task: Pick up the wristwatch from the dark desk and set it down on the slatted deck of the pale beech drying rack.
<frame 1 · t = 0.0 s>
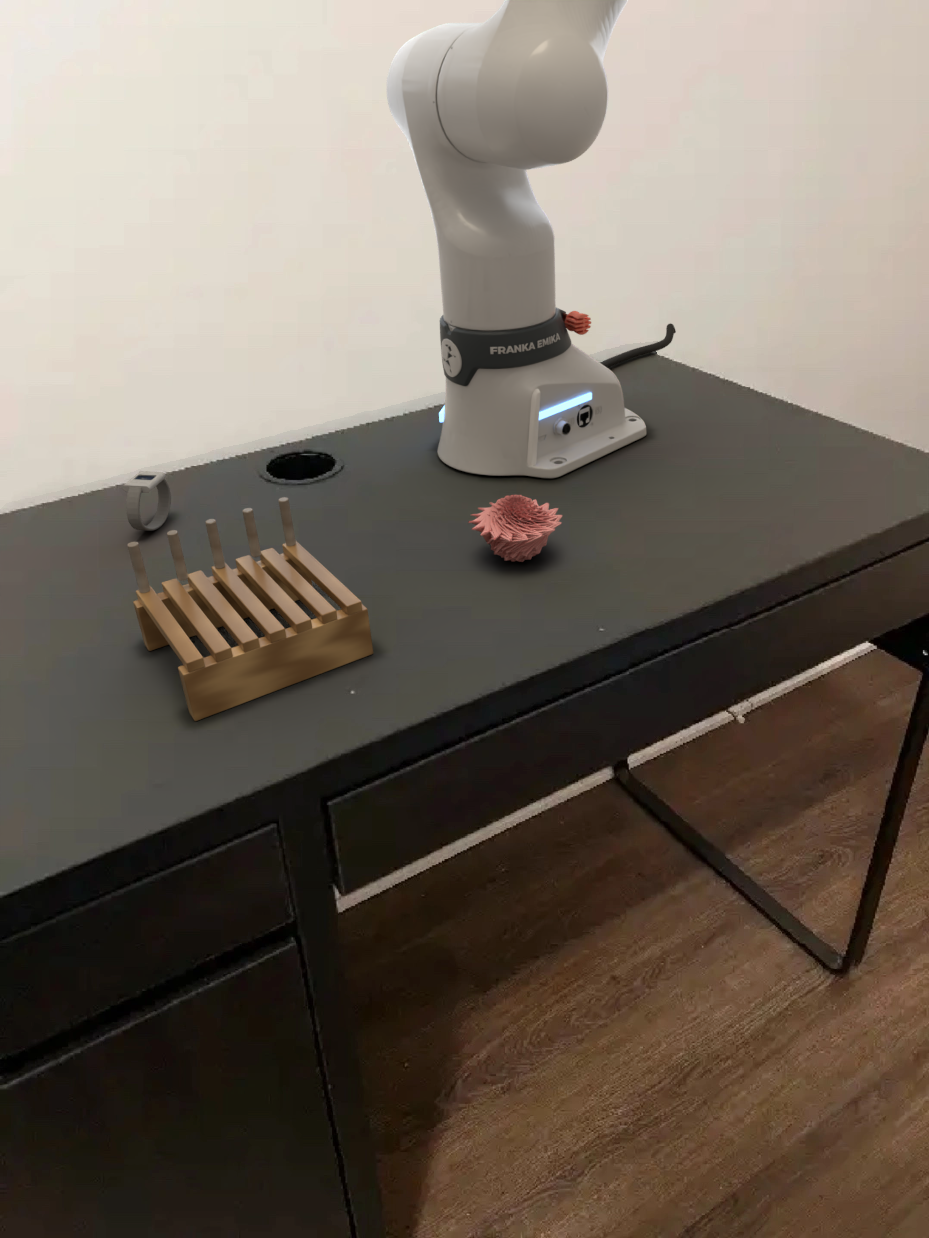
flower: (517, 557, 89), on the table
wristwatch: (155, 528, 98), on the table
rack: (256, 649, 79), on the table
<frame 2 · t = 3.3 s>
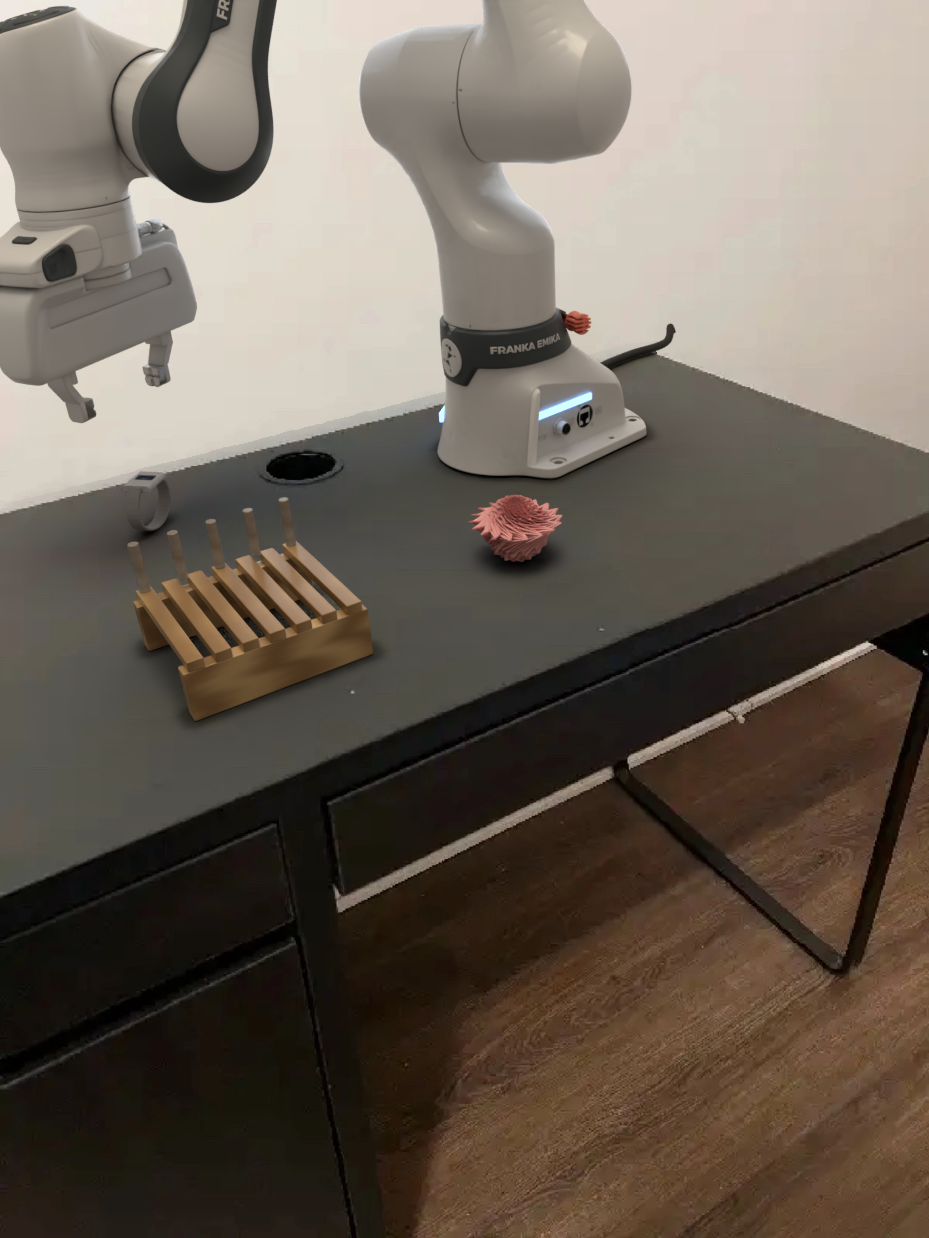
hand: (122, 401, 91), 12 cm above the table, tool pointing down, fingers open, 8 cm apart
nothing on the table moved.
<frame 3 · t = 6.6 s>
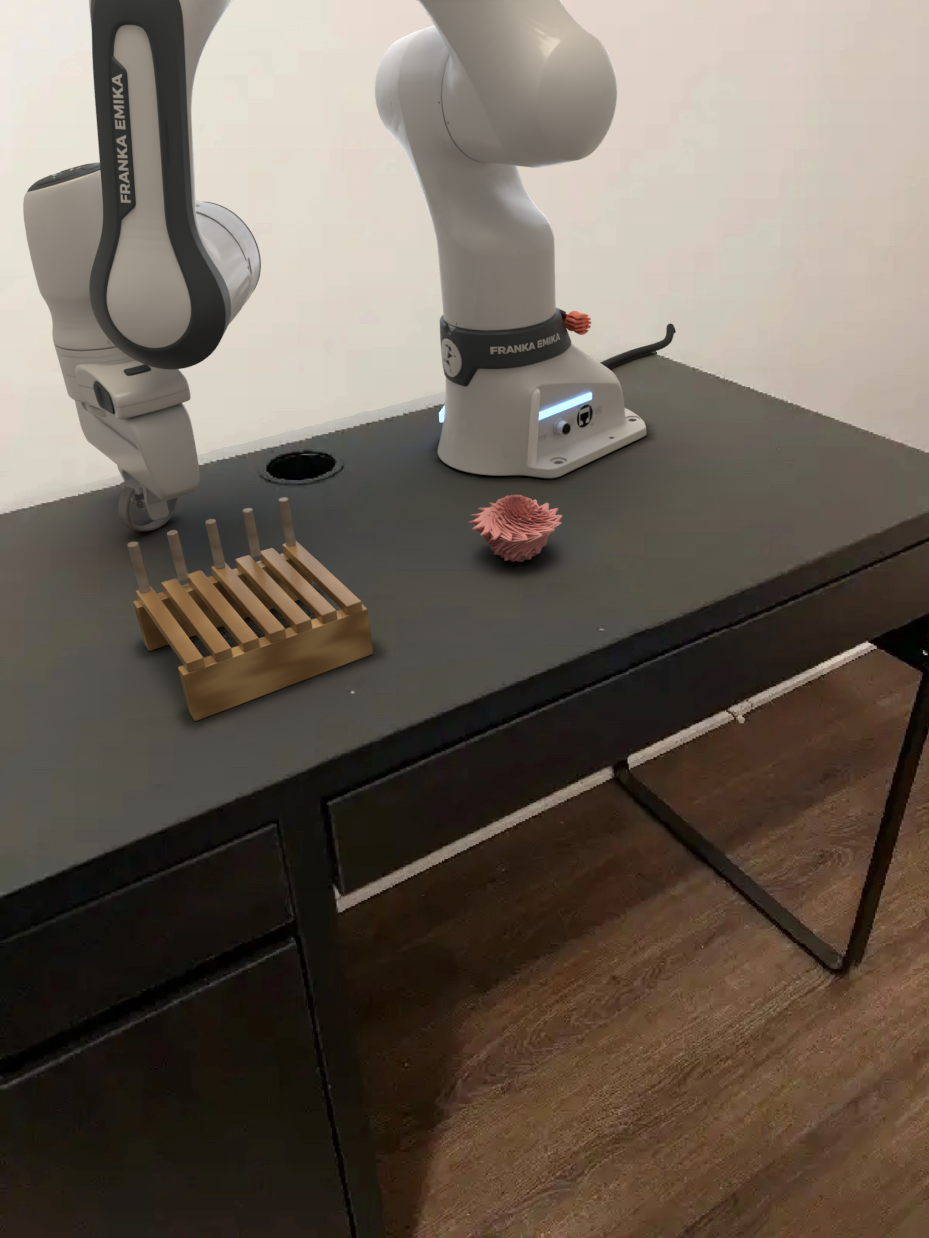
hand: (150, 510, 97), 2 cm above the table, tool pointing down, fingers closed on wristwatch, 2 cm apart
wristwatch: (154, 529, 98), on the table, touching gripper
everything else where it was.
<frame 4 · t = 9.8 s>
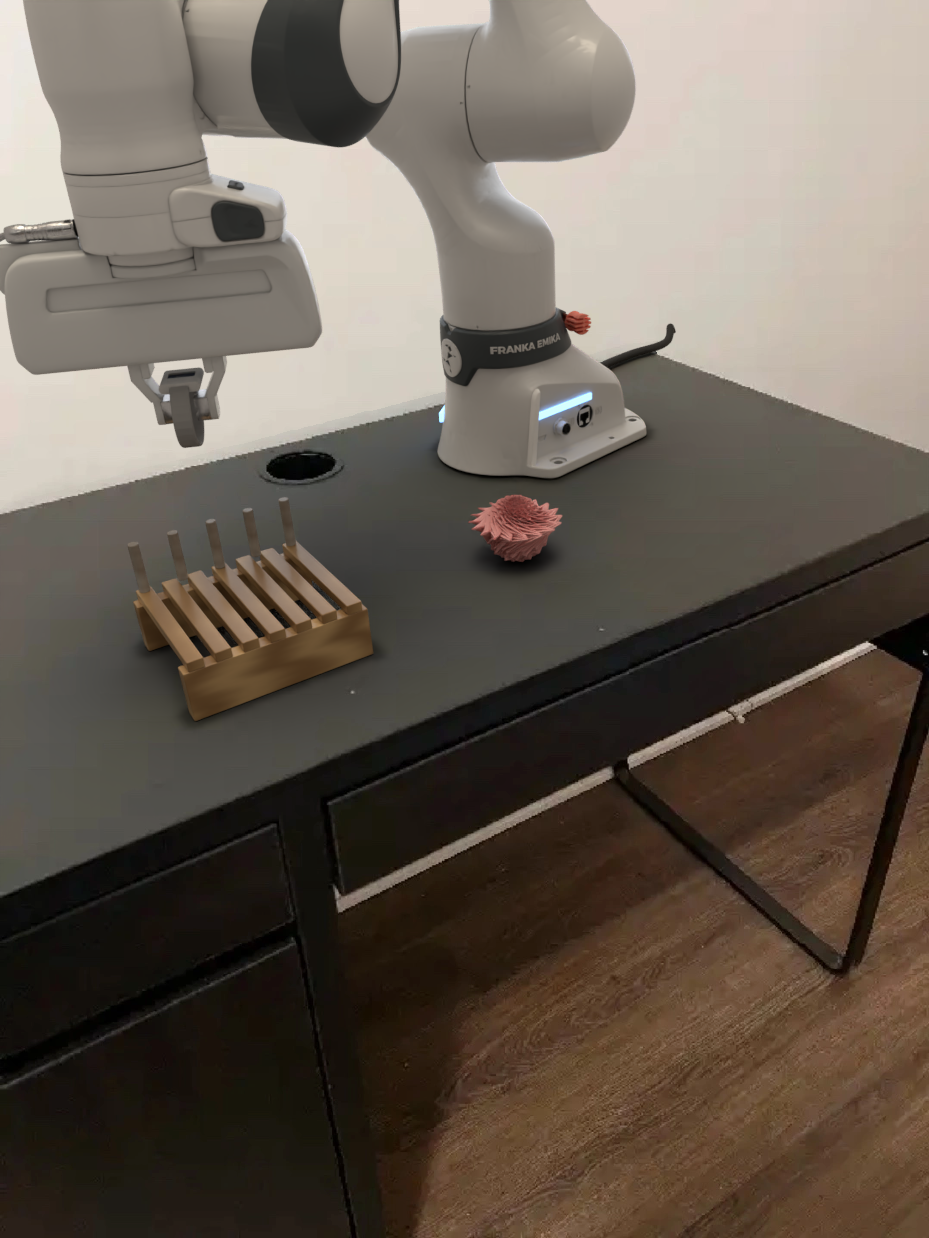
hand: (190, 419, 73), 17 cm above the table, tool pointing down, fingers closed on wristwatch
wristwatch: (195, 446, 74), point 15 cm above the table, touching gripper
everything else where it was.
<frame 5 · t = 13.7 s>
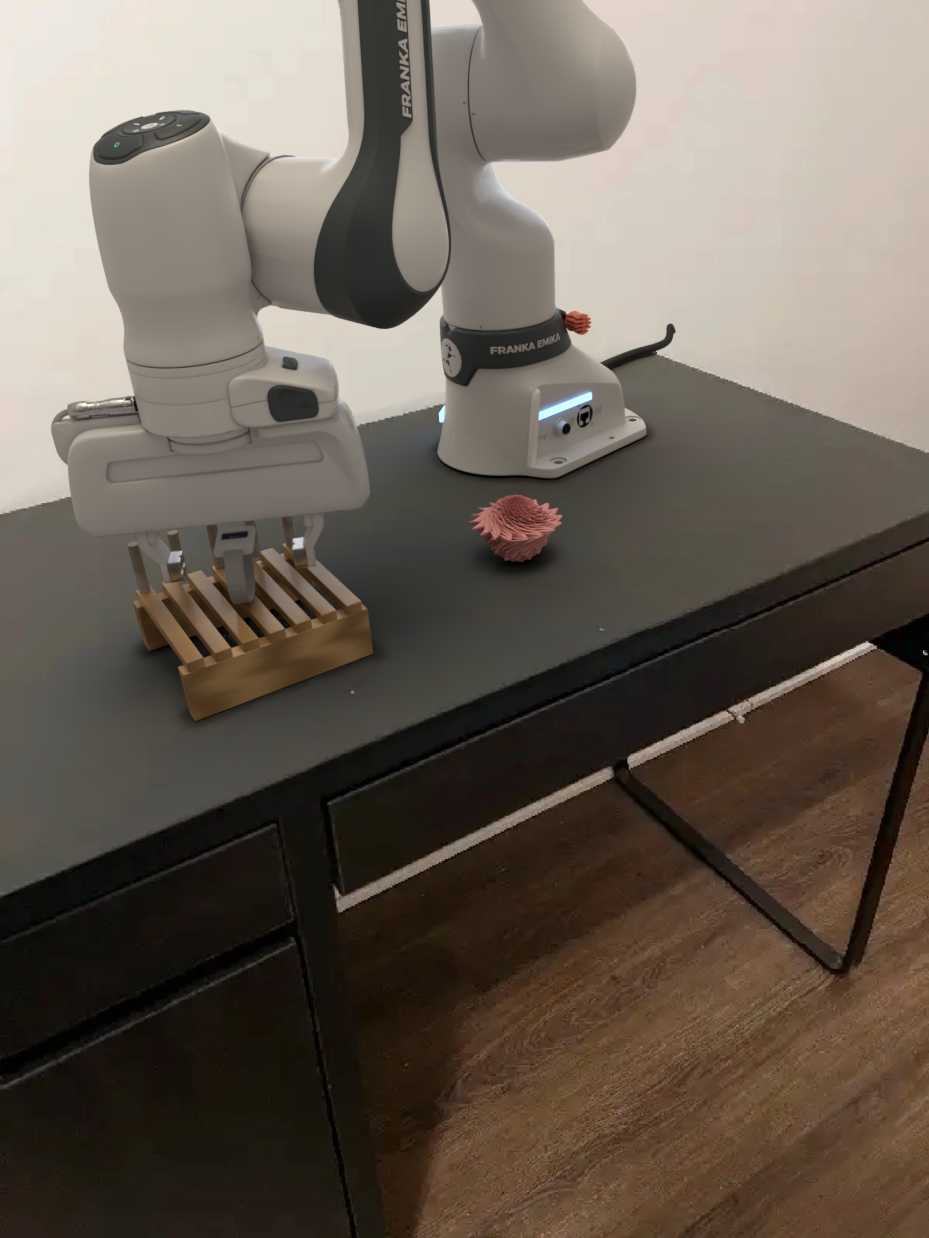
hand: (241, 571, 75), 7 cm above the table, tool pointing down, fingers open, 8 cm apart
wristwatch: (246, 599, 76), point 5 cm above the table, touching rack
everything else where it was.
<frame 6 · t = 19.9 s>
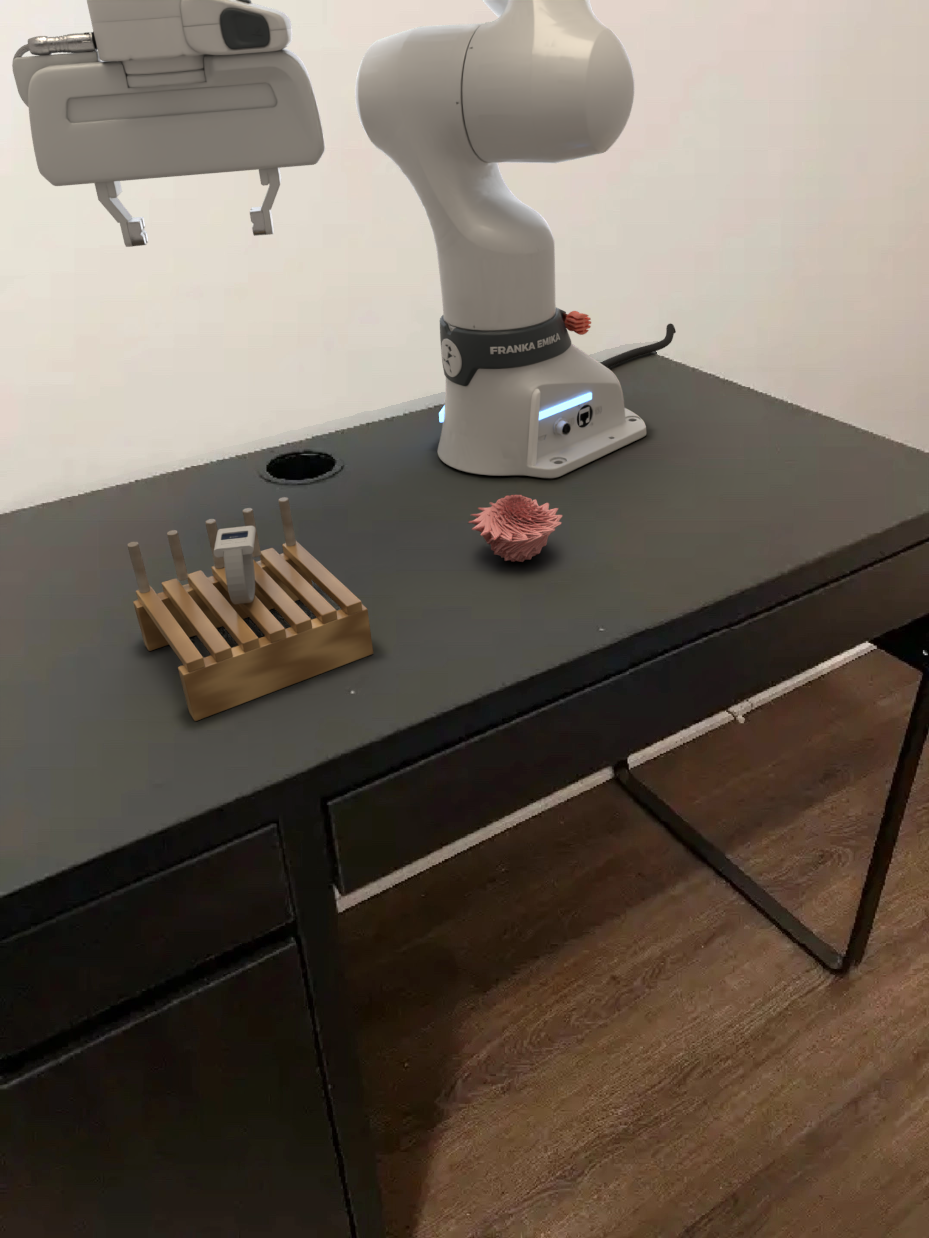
hand: (200, 239, 77), 27 cm above the table, tool pointing down, fingers open, 8 cm apart
nothing on the table moved.
at the end: wristwatch inside the target area on the rack (0.2 cm from its centre), point 4.6 cm above the rack's base; the gripper is holding nothing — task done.
